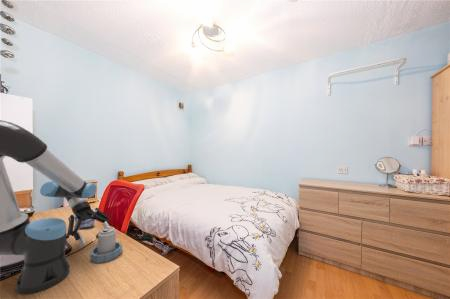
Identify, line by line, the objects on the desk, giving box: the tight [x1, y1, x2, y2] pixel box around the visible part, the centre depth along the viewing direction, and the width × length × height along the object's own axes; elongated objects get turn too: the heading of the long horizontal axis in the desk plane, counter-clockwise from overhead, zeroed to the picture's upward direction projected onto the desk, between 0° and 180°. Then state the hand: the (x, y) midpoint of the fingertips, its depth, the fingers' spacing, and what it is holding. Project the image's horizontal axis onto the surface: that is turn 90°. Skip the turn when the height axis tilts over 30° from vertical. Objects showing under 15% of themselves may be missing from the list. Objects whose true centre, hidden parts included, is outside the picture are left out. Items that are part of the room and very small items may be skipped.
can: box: [97, 226, 117, 255], centre depth 88 cm, size 8×8×12 cm
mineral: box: [74, 218, 96, 229], centre depth 119 cm, size 14×10×10 cm
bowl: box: [89, 240, 123, 264], centre depth 88 cm, size 13×13×4 cm
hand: (97, 238), depth 91 cm, fingers open, 13 cm apart
